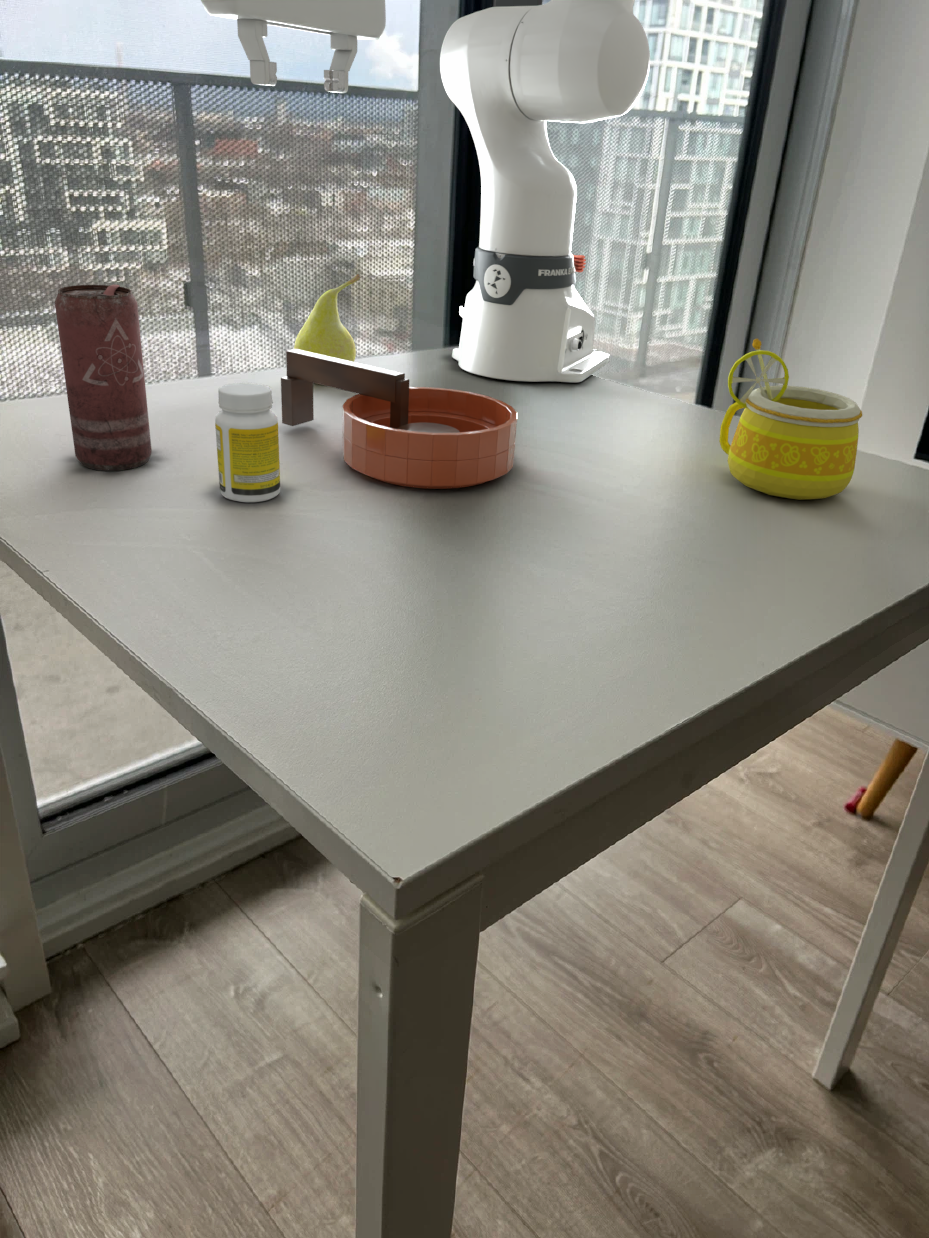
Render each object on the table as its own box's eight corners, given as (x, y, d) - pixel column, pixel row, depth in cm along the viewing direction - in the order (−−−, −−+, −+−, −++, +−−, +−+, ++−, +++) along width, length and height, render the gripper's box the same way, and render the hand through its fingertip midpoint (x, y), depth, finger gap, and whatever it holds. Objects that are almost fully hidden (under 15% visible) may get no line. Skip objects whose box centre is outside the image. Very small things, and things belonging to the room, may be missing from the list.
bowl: (411, 429, 94) (413, 378, 91) (543, 463, 87) (548, 409, 84) (307, 464, 82) (306, 408, 80) (449, 507, 75) (452, 446, 73)
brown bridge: (470, 457, 85) (475, 382, 82) (434, 472, 81) (438, 393, 78) (312, 414, 94) (311, 345, 91) (272, 426, 90) (269, 354, 87)
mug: (868, 490, 85) (905, 356, 80) (811, 516, 78) (846, 371, 73) (744, 453, 93) (770, 329, 88) (682, 474, 86) (705, 340, 81)
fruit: (300, 372, 112) (298, 265, 106) (363, 376, 112) (365, 270, 106) (289, 385, 106) (286, 273, 100) (355, 390, 106) (356, 278, 100)
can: (164, 451, 83) (149, 285, 77) (134, 475, 77) (116, 297, 71) (97, 445, 83) (77, 279, 77) (63, 468, 78) (38, 291, 71)
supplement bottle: (293, 493, 76) (290, 389, 72) (250, 508, 72) (244, 400, 68) (250, 479, 78) (245, 377, 74) (207, 493, 75) (199, 387, 71)
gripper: (350, -75, 88) (349, 95, 94) (177, -127, 72) (190, 79, 79) (403, -78, 85) (399, 97, 91) (235, -133, 69) (244, 82, 76)
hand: (301, 89), depth 85 cm, fingers open, 8 cm apart
